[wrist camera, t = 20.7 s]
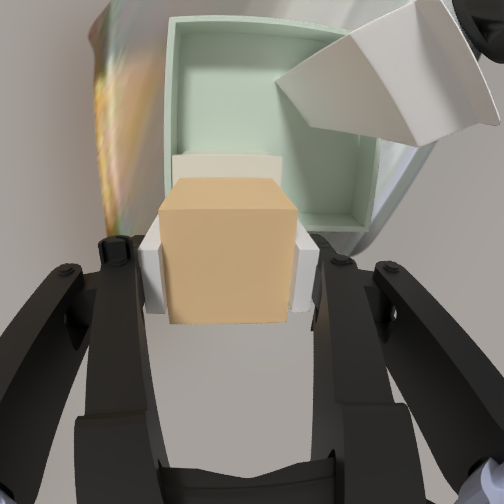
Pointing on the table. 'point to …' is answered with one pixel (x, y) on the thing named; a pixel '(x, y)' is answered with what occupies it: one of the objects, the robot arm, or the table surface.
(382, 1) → the table surface
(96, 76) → the table surface
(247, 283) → the box
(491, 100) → the milk
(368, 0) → the table surface
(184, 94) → the tray
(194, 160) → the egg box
